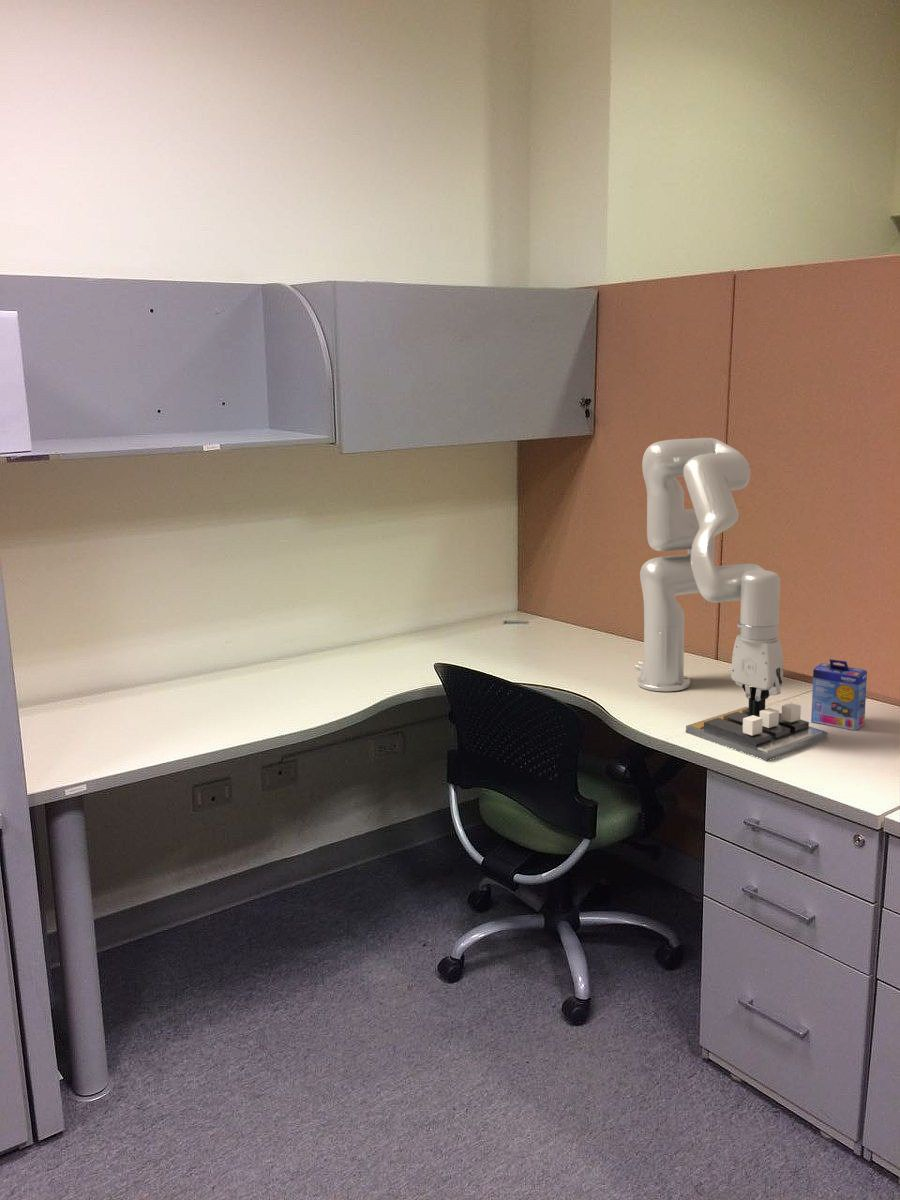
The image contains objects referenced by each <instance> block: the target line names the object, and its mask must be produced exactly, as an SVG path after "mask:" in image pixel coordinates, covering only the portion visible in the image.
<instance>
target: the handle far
mask: <svg viewBox="0 0 900 1200" xmlns="http://www.w3.org/2000/svg"><path fill="white" fill-rule="evenodd" d="M801 707H802V705H800V704H796V703H793V702H790V703H787V704H784V705H781V714H782V715H781V720H784V721H788V722H794V721H797V720H800V719H801V712H802V711H801V709H802V708H801Z"/></svg>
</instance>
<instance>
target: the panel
mask: <svg viewBox="0 0 900 1200" xmlns="http://www.w3.org/2000/svg"><path fill="white" fill-rule="evenodd" d="M748 708H749V706H743V707H741V708H738V709H735V710H732V711H728V712H726V713H723V714H718V715H716V716H715V715H714V716H713V717H709V718H706V719H703V720H701V721H697V722H694V723H691V724H686V725H685V733H687V734H690V735H692V736H695V737H698V738H700V739H703V740H706V741H708V740H709V742H711V743H714V742H715V744H717V743H718V744H717V745H719V746H722V745H724V747H725V746H727V747H726V748H728V747H729V748H728V749H731V748H733V749H732V750H734V749H736V750H739V751H742V752H744V753H743V754H745V753H746V755H747V754H749V755H748V756H750V755H753V756H755V757H754V758H756V757H758V758H757V759H759V758H761V759H763V760H762V761H764V760H766V761H765V762H769V761H771V760H770V759H772V760H774V759H773V758H775V759H777V758H780V757H782V755H783V756H786V755H788V754H790V752H791V753H793V751H794V752H796V750H797V751H799V750H801V748H802V749H805V748H807V747H810V746H813V745H816V744H818V743H821V742H824V741H827V740H828V736H829V732H828V731H825V730H822V729H820V728H819V729H818V728H816V727H814V726H813V727H812V726H810V722H809V721H807V720H805V719H804V720H803V719H801V718H800V720H797V721H794V722H788V721H784V720H781V715H782V712H779V722H778V725H776V726H773V727H770V728H767V727H764V726H762V733H759V734H756V735H753V736H752V735H749V734H746V733H743V718H746V717H749V716H748V713H749V710H748ZM798 749H799V750H798ZM736 750H735V751H736ZM739 751H738V752H739ZM742 752H741V753H742ZM785 754H786V755H785ZM753 756H752V757H753ZM779 756H780V757H779ZM776 757H777V758H776ZM761 759H760V760H761ZM768 760H769V761H768Z"/></svg>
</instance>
